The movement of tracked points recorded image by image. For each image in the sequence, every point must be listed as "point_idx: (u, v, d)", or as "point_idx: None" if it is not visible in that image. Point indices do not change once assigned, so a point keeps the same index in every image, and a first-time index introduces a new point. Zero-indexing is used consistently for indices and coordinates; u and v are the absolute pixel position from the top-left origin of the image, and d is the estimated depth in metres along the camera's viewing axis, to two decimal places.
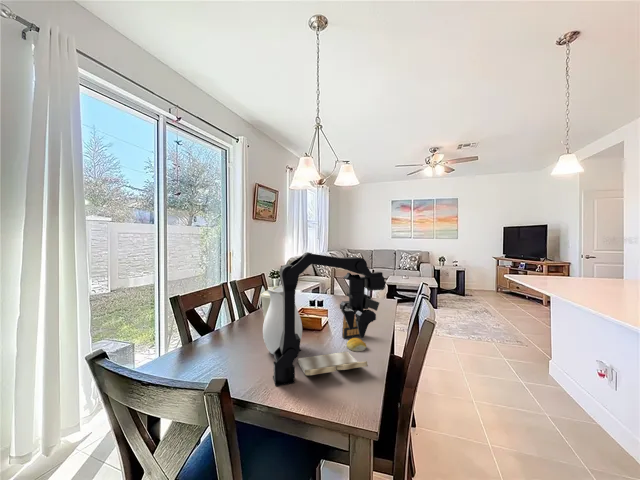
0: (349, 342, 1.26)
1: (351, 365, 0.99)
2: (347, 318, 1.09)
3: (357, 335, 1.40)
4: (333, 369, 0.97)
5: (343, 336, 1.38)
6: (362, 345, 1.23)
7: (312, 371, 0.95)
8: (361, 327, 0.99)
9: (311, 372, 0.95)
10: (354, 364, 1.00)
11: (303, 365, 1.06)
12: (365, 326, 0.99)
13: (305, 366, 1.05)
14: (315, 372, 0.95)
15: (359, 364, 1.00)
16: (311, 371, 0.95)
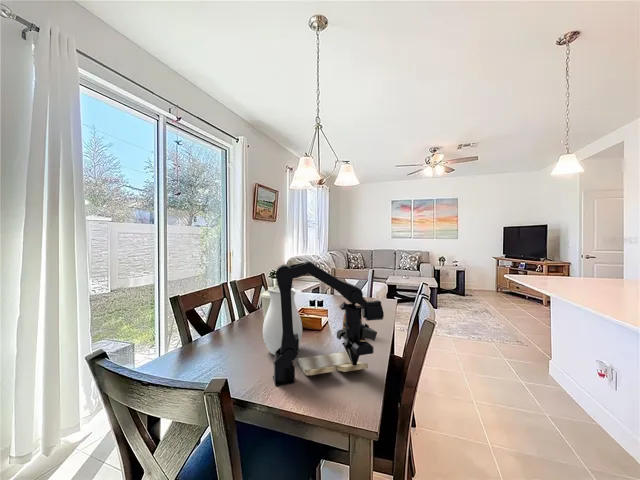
0: None
1: (351, 367, 0.99)
2: (349, 352, 1.01)
3: None
4: (333, 369, 0.97)
5: None
6: None
7: (312, 371, 0.95)
8: (353, 355, 0.99)
9: (311, 372, 0.95)
10: (354, 366, 0.99)
11: (303, 365, 1.06)
12: (357, 354, 0.99)
13: (305, 366, 1.05)
14: (315, 372, 0.95)
15: (359, 366, 1.00)
16: (311, 371, 0.95)
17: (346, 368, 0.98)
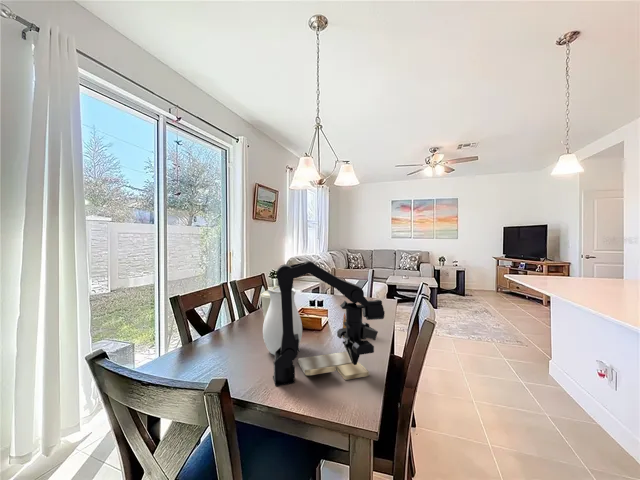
0: None
1: (352, 375, 0.98)
2: (349, 351, 1.01)
3: None
4: (333, 369, 0.97)
5: (343, 336, 1.38)
6: None
7: (312, 371, 0.95)
8: (354, 354, 0.99)
9: (311, 372, 0.95)
10: (356, 374, 0.99)
11: (303, 365, 1.06)
12: None
13: (305, 366, 1.05)
14: (315, 372, 0.95)
15: (360, 374, 0.99)
16: (311, 371, 0.95)
17: (347, 376, 0.98)
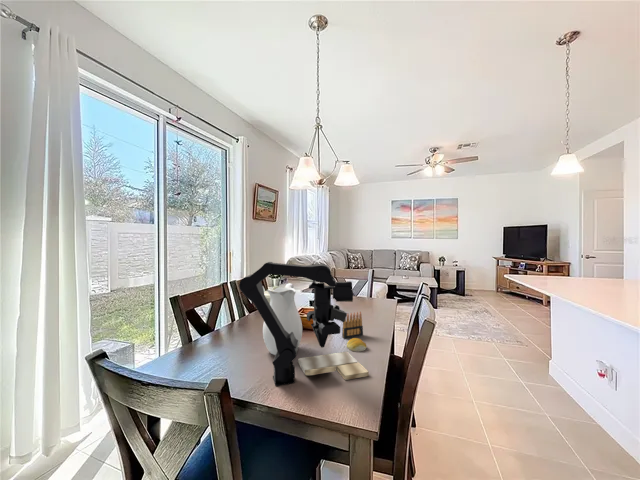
0: (349, 342, 1.26)
1: (352, 375, 0.98)
2: (317, 333, 0.98)
3: (357, 335, 1.40)
4: (333, 369, 0.97)
5: (343, 336, 1.38)
6: (362, 345, 1.22)
7: (312, 371, 0.95)
8: (321, 336, 0.95)
9: (311, 372, 0.95)
10: (356, 374, 0.99)
11: (303, 365, 1.06)
12: (325, 335, 0.96)
13: (305, 366, 1.05)
14: (315, 372, 0.95)
15: (360, 374, 0.99)
16: (311, 371, 0.95)
17: (347, 376, 0.98)
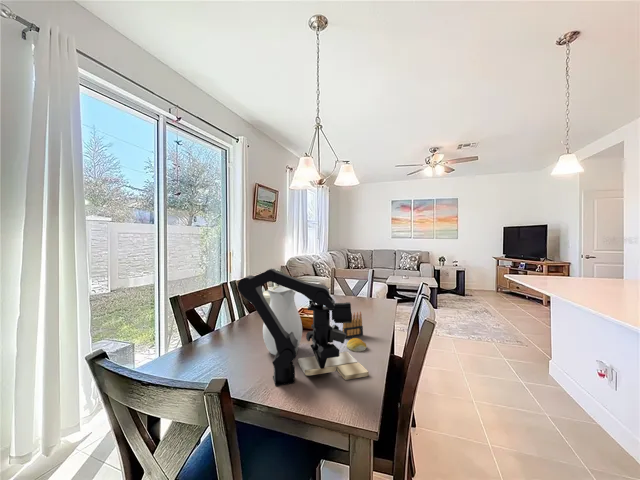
0: (349, 342, 1.26)
1: (352, 375, 0.98)
2: None
3: (357, 335, 1.40)
4: (333, 369, 0.97)
5: None
6: (362, 345, 1.22)
7: (312, 371, 0.95)
8: (320, 358, 0.95)
9: (311, 372, 0.95)
10: (356, 374, 0.99)
11: (303, 365, 1.06)
12: None
13: (305, 366, 1.05)
14: (315, 372, 0.95)
15: (360, 374, 0.99)
16: (311, 371, 0.95)
17: (347, 376, 0.98)
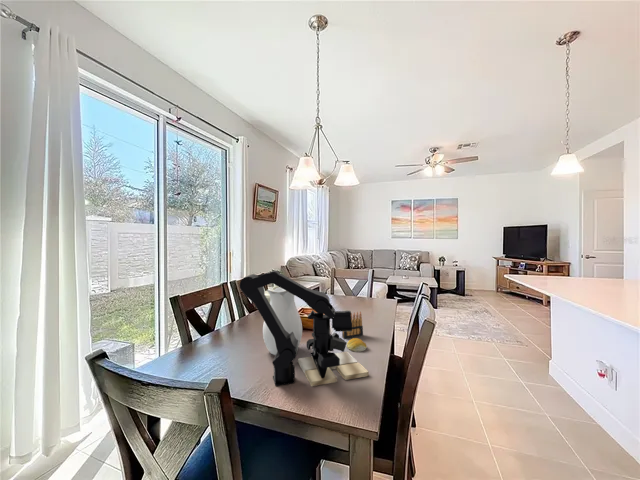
0: (349, 342, 1.26)
1: (352, 375, 0.98)
2: None
3: (357, 335, 1.40)
4: (334, 380, 0.96)
5: (343, 336, 1.38)
6: (362, 345, 1.22)
7: (313, 382, 0.94)
8: (321, 367, 0.95)
9: (312, 383, 0.94)
10: (356, 374, 0.99)
11: (303, 365, 1.06)
12: None
13: (305, 366, 1.05)
14: (316, 383, 0.94)
15: (360, 374, 0.99)
16: (312, 382, 0.94)
17: (347, 376, 0.98)
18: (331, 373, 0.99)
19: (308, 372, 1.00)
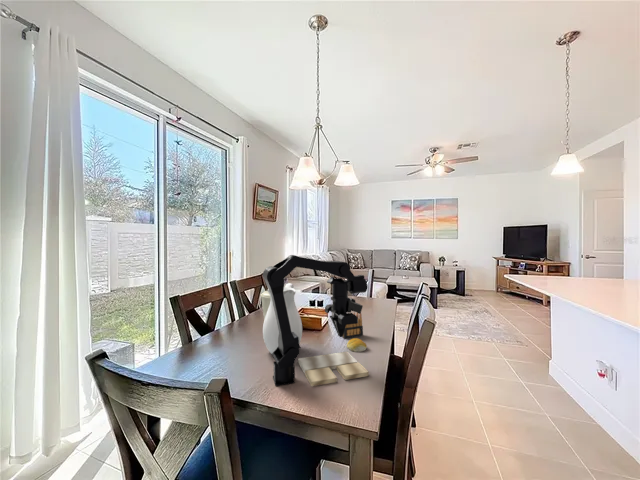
0: (349, 342, 1.25)
1: (352, 375, 0.98)
2: (335, 324, 1.07)
3: (357, 335, 1.40)
4: (334, 380, 0.96)
5: (343, 336, 1.38)
6: (362, 345, 1.22)
7: (313, 383, 0.94)
8: (339, 327, 1.04)
9: (312, 383, 0.94)
10: (356, 374, 0.99)
11: (303, 365, 1.06)
12: (343, 326, 1.05)
13: (305, 366, 1.05)
14: (316, 383, 0.94)
15: (360, 374, 0.99)
16: (312, 383, 0.94)
17: (347, 376, 0.98)
18: (331, 373, 0.99)
19: (308, 372, 1.00)
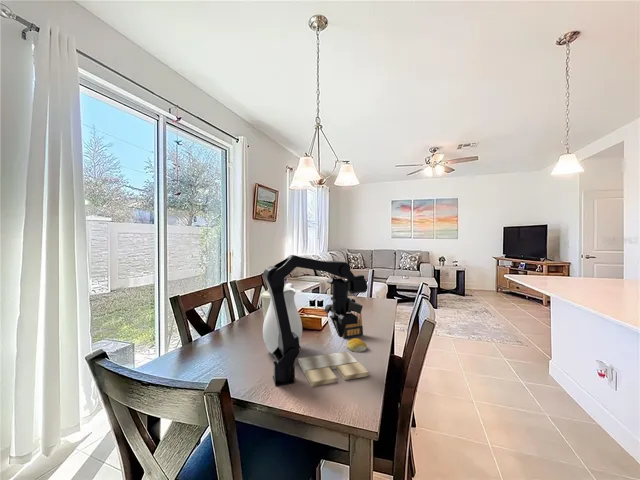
0: (349, 343, 1.25)
1: (352, 375, 0.98)
2: (335, 324, 1.07)
3: (357, 335, 1.40)
4: (334, 380, 0.96)
5: (343, 336, 1.38)
6: (362, 346, 1.22)
7: (313, 383, 0.94)
8: (339, 327, 1.04)
9: (312, 383, 0.94)
10: (356, 374, 0.99)
11: (303, 365, 1.06)
12: (343, 326, 1.05)
13: (305, 366, 1.05)
14: (316, 383, 0.94)
15: (360, 374, 0.99)
16: (312, 383, 0.94)
17: (347, 376, 0.98)
18: (331, 373, 0.99)
19: (308, 372, 1.00)
